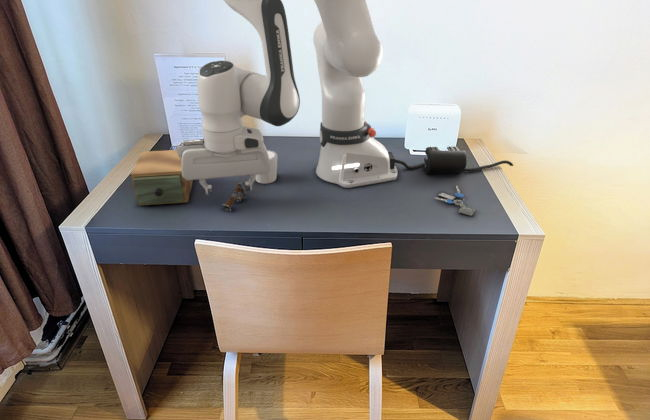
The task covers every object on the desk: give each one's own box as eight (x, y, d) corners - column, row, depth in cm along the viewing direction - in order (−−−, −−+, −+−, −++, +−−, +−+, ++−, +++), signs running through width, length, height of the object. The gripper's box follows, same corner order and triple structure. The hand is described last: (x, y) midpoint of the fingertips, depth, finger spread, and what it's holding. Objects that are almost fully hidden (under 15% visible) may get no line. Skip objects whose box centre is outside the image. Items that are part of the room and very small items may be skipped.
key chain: (478, 216, 101) (479, 213, 100) (444, 218, 100) (445, 215, 100) (457, 187, 112) (458, 184, 112) (426, 188, 112) (427, 186, 111)
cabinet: (188, 202, 106) (182, 171, 101) (138, 205, 104) (130, 174, 100) (193, 178, 116) (188, 149, 112) (148, 181, 115) (141, 151, 110)
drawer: (183, 204, 103) (178, 179, 99) (138, 207, 102) (131, 182, 98) (189, 179, 114) (185, 156, 110) (148, 182, 112) (143, 158, 109)
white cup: (248, 182, 115) (246, 158, 111) (260, 171, 120) (258, 148, 116) (271, 186, 113) (270, 162, 109) (282, 175, 118) (281, 151, 114)
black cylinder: (428, 178, 117) (431, 155, 113) (421, 166, 123) (424, 145, 119) (464, 177, 117) (468, 155, 114) (455, 166, 123) (460, 144, 120)
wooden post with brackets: (250, 191, 108) (244, 180, 105) (234, 217, 104) (228, 206, 101) (244, 190, 109) (238, 179, 105) (228, 215, 105) (221, 204, 101)
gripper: (174, 146, 92) (184, 202, 99) (270, 140, 96) (272, 193, 104) (176, 135, 97) (185, 189, 104) (266, 129, 101) (269, 181, 109)
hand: (229, 191), depth 104 cm, fingers open, 8 cm apart
